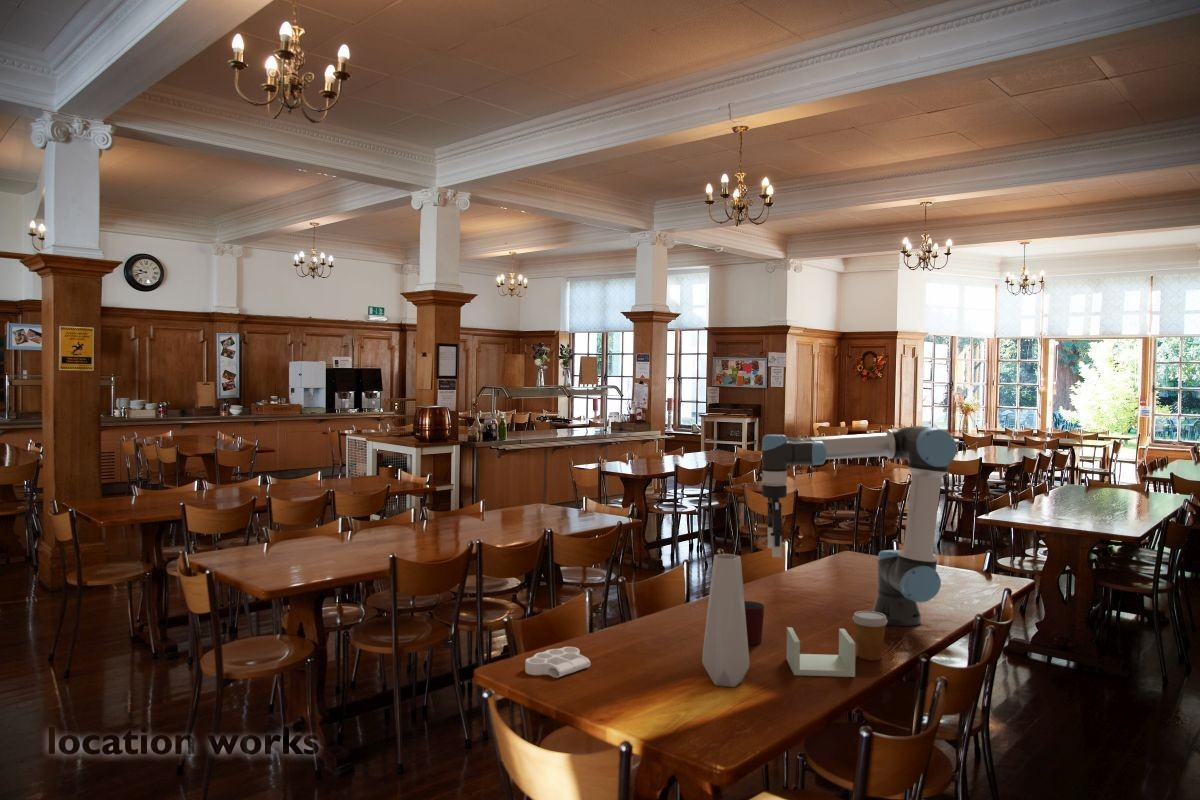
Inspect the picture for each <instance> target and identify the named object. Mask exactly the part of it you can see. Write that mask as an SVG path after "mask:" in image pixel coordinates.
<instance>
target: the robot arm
mask: <svg viewBox="0 0 1200 800" xmlns="http://www.w3.org/2000/svg"><path fill="white" fill-rule="evenodd" d="M957 449H958V448H957V443H956V441H955V438H954V437H953V436H952V435H951V433H949V432H948V431H946V430H945V429H943V428H939V427H937V426H936V427H935V426H934V427H933V426H932V427H931V426H923V425H914V426H906V427H902V428H901V427H900V428H892V429H886V430H885V431H884V432H878V433H876V432H875V433H861V434H845V435H843V434H842V435H826V436H810V437H793V436H792V437H787V435H785V434H772V433H771V434H764V435H763V436H762V442H761V459H762V460H761V462H762V463H761V466H762V467H761V472H762V473H759V475H760V477H761V482H762V486H761V496H762V497H764V498H767V503H766V505H767V513H766V514H767V516H766V517H767V518H766V524H767V525H766V526H767V549H771V551H772V552H771V553H772V554H771V557H772V558H782V547H783V546H782V545H783V544H782V543H783V541H782V539H783V538H782V536H783V533H784V532H783V524H782V523H783V522H782V521H783V519H782V507H783V506H782V503H781V502H780V499H784V498H787V496H788V494H787V493H788V492H787V490H788V487H787V483H788V466H815V465H816V466H818V465H819V466H821V465H824V463H825V462H826V460H834V459H835V460H836V459H837V460H838V459H855V458H856V459H857V458H870V457H871V458H873V457H886V458H887V459H891V460H892V459H899V460H901V459H902V460H908V462H907V469H908V470H909V471H910V472H911V481H910V491H909V498H908V506H907V508H908V509H907V517H906V524H905V531H904V532H905V533H904V540H903V541H904V542H903V549H901V550H900V549H887V550H886V549H885V550H880V551H879V552H878V557H877V558H878V559H877V597H876V599H875V602H874V606H873V608H872V610H871V611H874V612H879V613H882V614H884V615H885V616H886V619H887V621H888V622H887V624H886V625H888V626H897V627H913V626H919V625H920V624H921V622H922V617H921V616H922V615H921V611H920V609H919V605H918V603H925V602H928V601H931V600H932V599H933V598H935V597H936V596H937V595H938V594H939V592H940V590H941V586H942V583H941V582H942V581H941V577H940V574H939V573H938V572H937V563H938V559H937V558H936V556H935V555H934V544H935V538H936V537H935V534H936V527H937V519H938V509H939V503H940V500H939V499H940V492H941V484H942V478H943V477H944V476H946V475H947V474H948V470H949V465H950V463H951V462H952V461H954V460H955V458H956V455H957Z"/></svg>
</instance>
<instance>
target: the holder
mask: <svg viewBox="0 0 1200 800" xmlns="http://www.w3.org/2000/svg"><path fill="white" fill-rule="evenodd" d="M786 660H787V663H788V665H789V667H790V670H791V671H792V674H793V675H794V676H809V677H811V676H815V677H844V678H847V677H848V678H849V677H850V678H851V677H852V678H855V677H856V642H855V641H854V639H853V638H852V637H851V635H850V634H849V633H848V631H847V630H846V629H845V628H838V654H819V653H818V654H817V653H816V654H815V653H814V654H813V653H801V641H800V639H799V637H798V636H797V633H796V632H795V630H794V628H793V627H789V626H787V627H786Z"/></svg>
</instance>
